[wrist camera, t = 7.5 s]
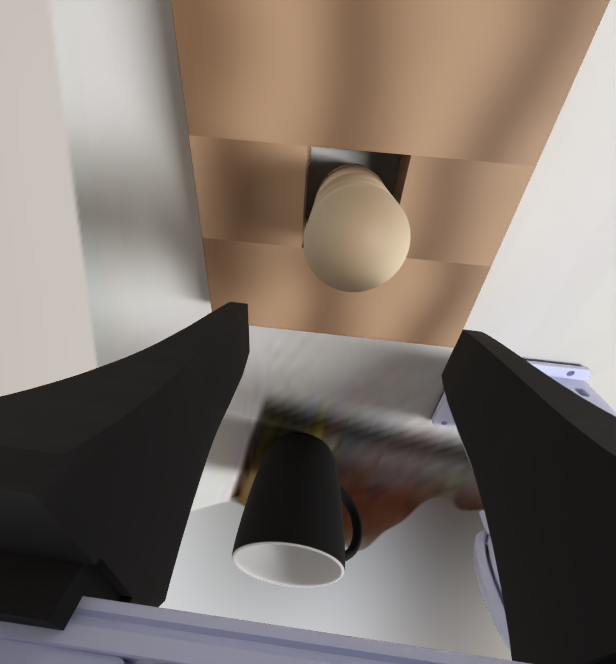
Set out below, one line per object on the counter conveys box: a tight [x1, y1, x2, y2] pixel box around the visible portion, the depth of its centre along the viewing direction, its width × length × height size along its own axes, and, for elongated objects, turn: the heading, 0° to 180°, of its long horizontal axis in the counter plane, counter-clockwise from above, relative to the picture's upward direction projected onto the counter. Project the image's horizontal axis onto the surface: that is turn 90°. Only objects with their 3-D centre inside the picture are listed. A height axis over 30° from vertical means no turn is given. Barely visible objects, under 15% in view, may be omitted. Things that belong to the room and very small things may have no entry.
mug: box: [232, 434, 362, 587], centre depth 28 cm, size 12×9×10 cm
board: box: [171, 0, 610, 348], centre depth 16 cm, size 16×16×2 cm
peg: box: [304, 164, 411, 292], centre depth 14 cm, size 4×4×8 cm
